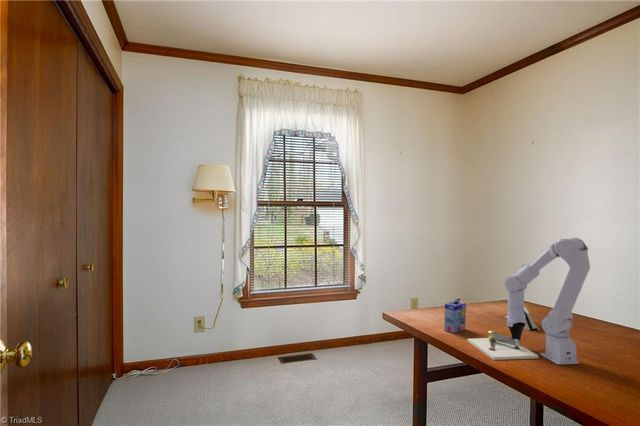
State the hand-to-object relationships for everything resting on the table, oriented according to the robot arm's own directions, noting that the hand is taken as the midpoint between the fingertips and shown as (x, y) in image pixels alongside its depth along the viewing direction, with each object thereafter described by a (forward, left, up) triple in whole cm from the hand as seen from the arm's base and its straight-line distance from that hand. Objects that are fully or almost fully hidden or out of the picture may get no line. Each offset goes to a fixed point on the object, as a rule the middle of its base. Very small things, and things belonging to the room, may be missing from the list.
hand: (516, 341), depth 146 cm
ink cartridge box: (+23, +15, -2) cm, 27 cm away
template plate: (-2, +8, -2) cm, 8 cm away
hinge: (+27, -21, -3) cm, 35 cm away
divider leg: (0, +5, -1) cm, 5 cm away
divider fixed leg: (-1, +11, -1) cm, 11 cm away
